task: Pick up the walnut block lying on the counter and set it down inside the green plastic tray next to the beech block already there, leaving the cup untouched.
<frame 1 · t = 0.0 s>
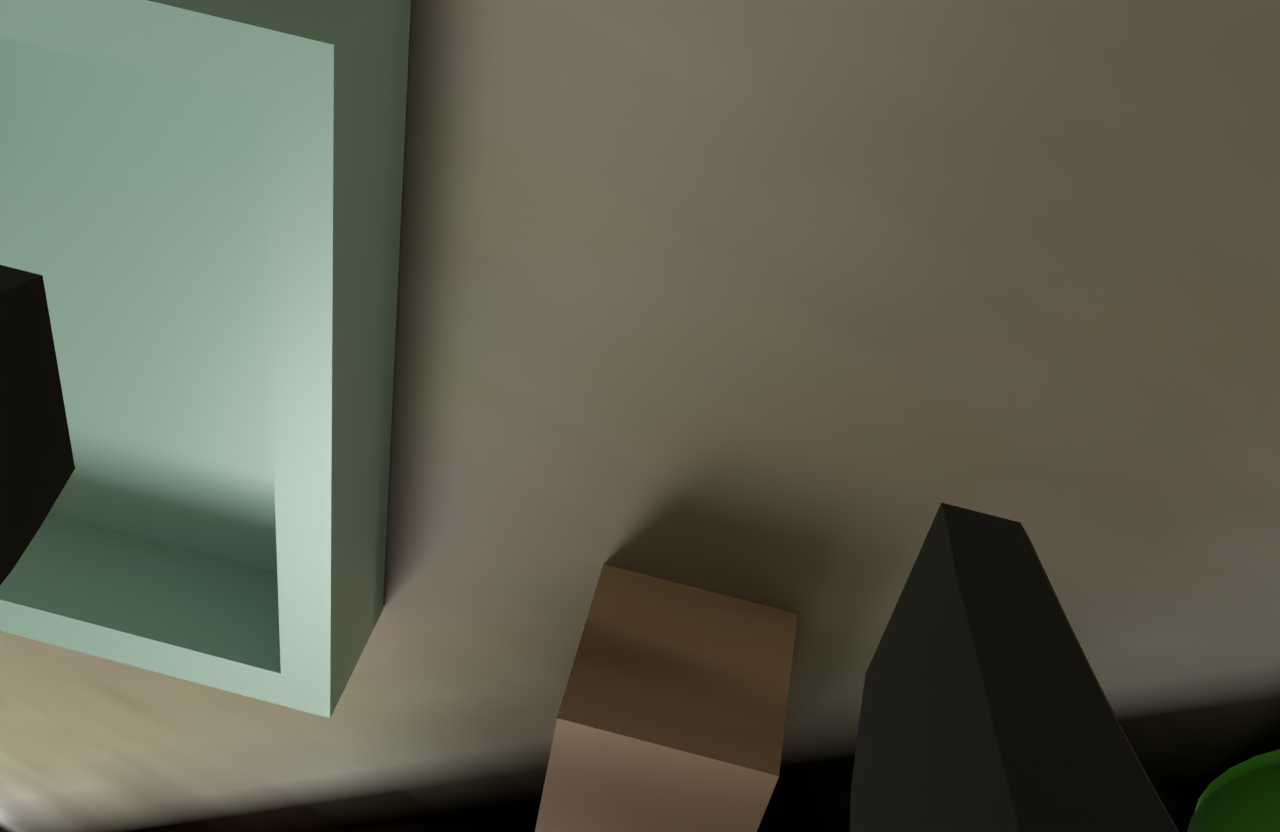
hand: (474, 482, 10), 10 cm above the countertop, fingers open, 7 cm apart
walnut block: (682, 650, 26), on the countertop
tray: (30, 261, 23), on the countertop
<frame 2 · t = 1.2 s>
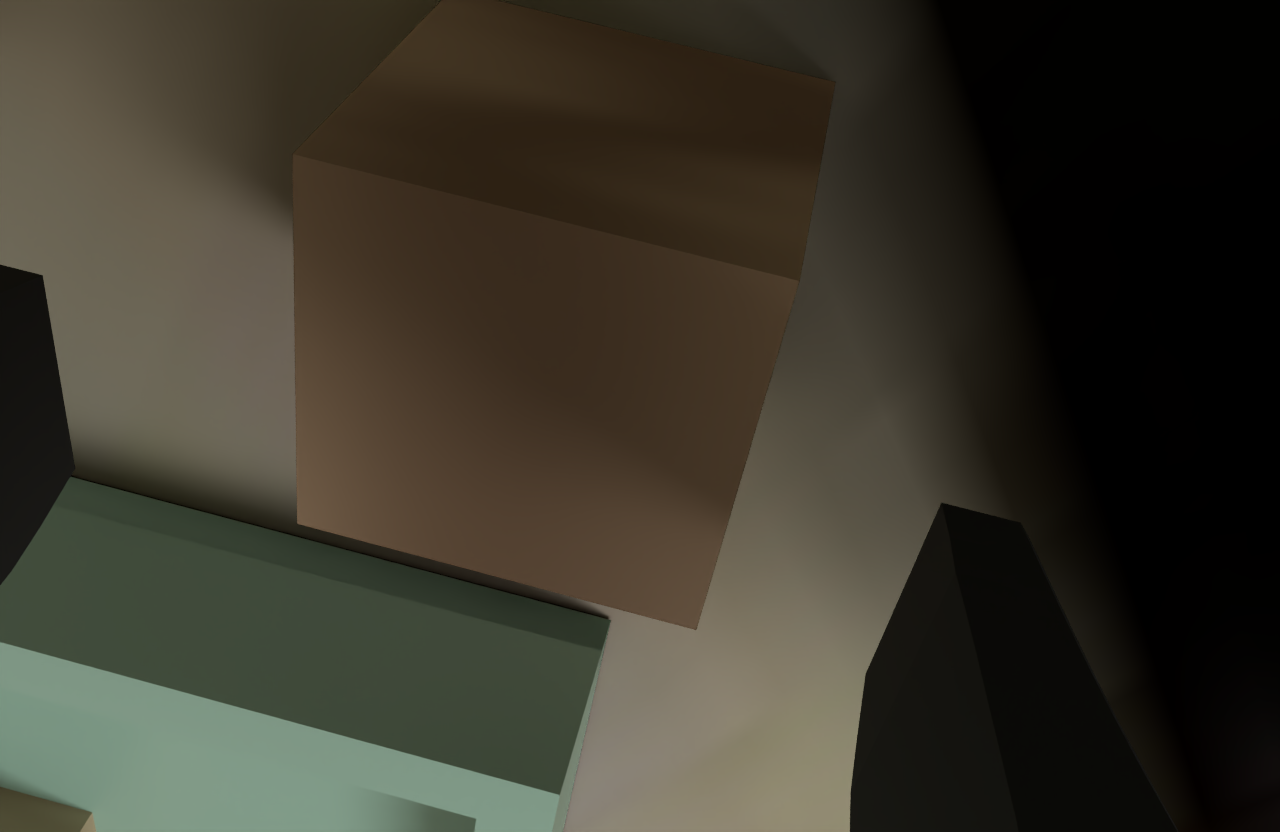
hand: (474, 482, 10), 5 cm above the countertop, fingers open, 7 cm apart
walnut block: (613, 204, 14), on the countertop
tray: (181, 775, 22), on the countertop
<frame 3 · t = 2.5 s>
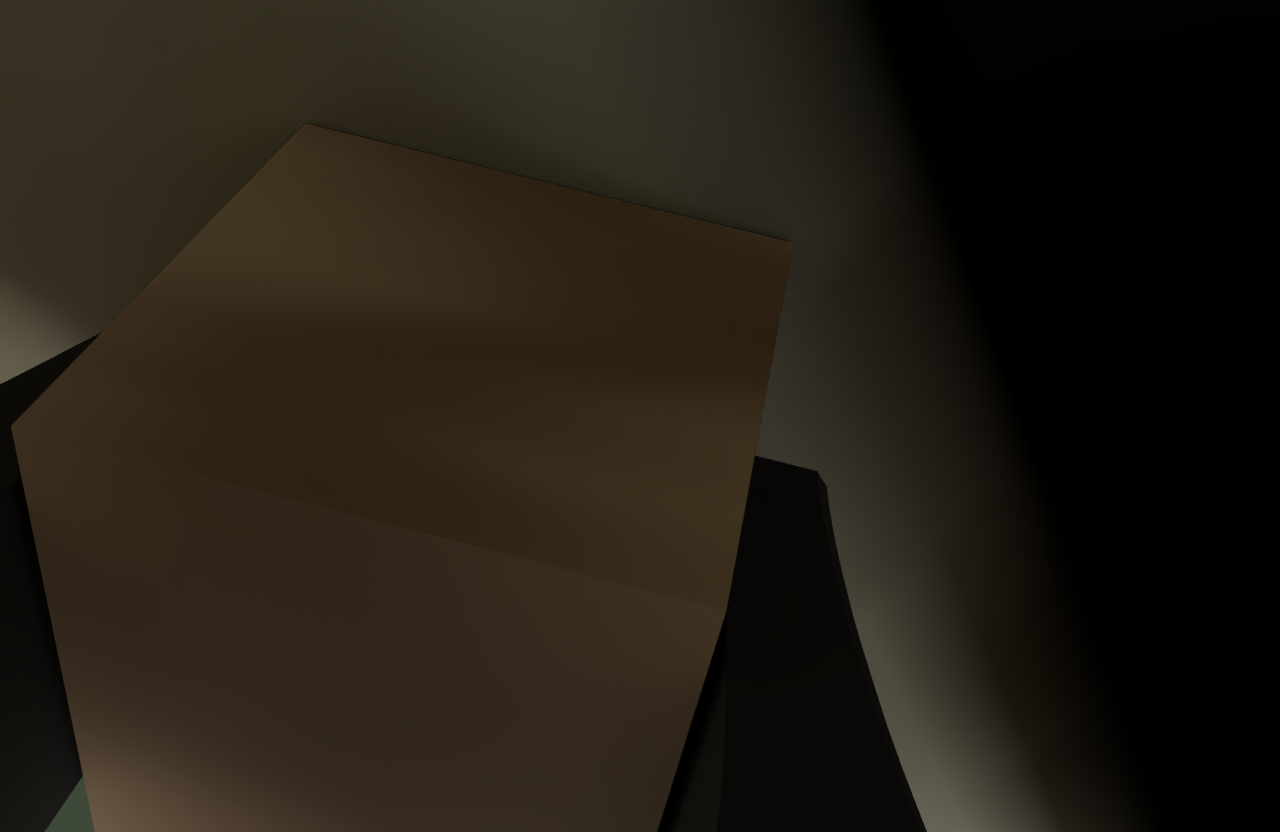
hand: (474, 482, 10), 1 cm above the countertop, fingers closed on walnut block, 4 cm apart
walnut block: (520, 380, 11), on the countertop, touching gripper
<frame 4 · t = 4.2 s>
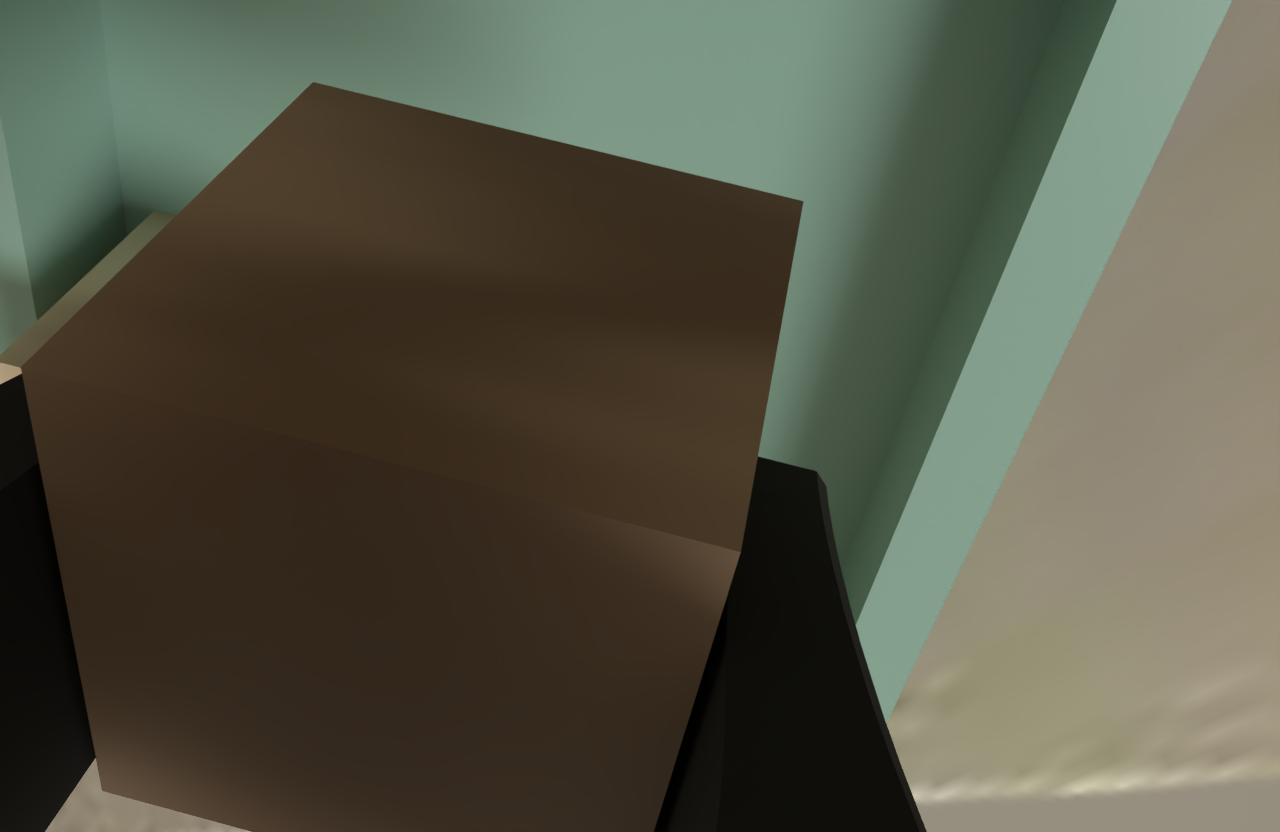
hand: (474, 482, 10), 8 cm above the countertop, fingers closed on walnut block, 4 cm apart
walnut block: (528, 344, 11), point 7 cm above the countertop, touching gripper
tray: (527, 220, 18), on the countertop
beech block in tray: (285, 349, 19), point 1 cm above the countertop, touching tray
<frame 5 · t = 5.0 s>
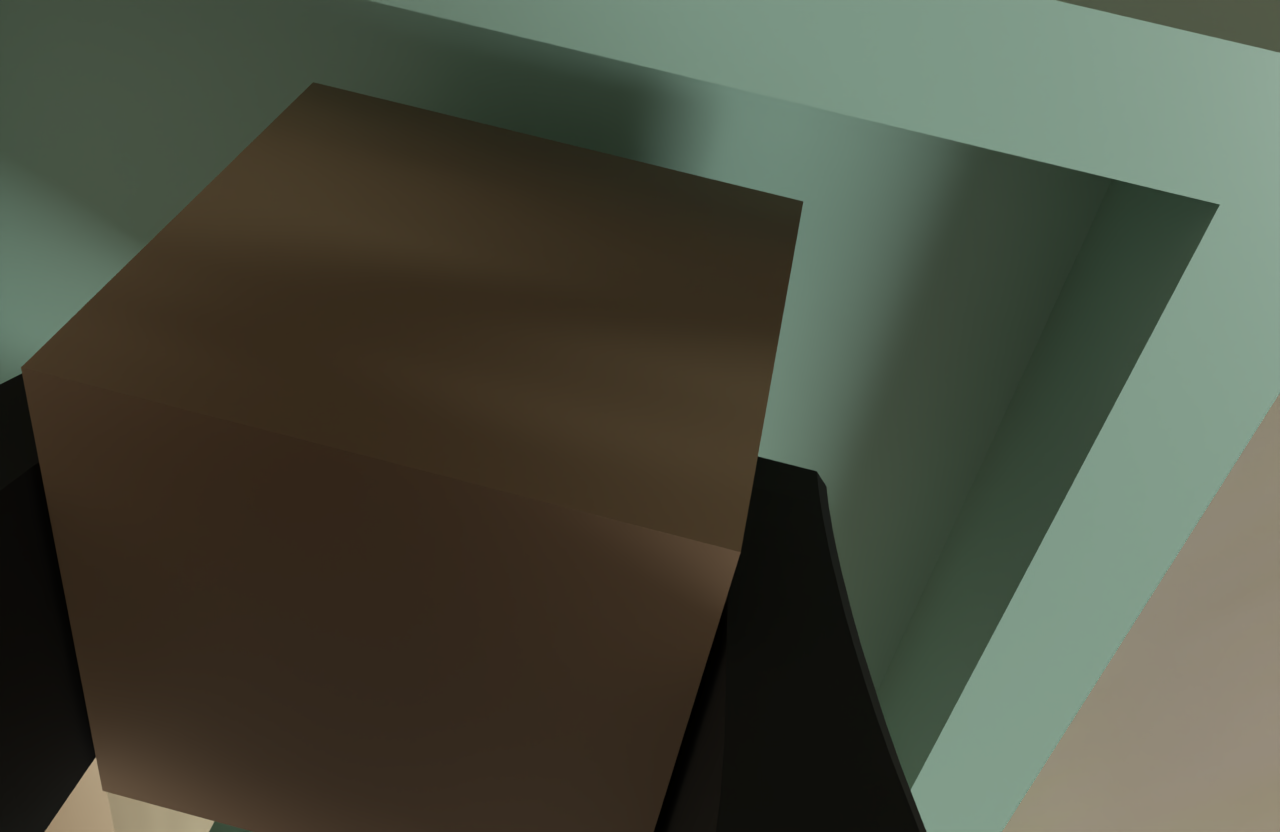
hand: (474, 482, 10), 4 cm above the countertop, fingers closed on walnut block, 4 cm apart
walnut block: (528, 344, 11), point 2 cm above the countertop, touching gripper
tray: (423, 412, 14), on the countertop
beech block in tray: (134, 551, 16), point 1 cm above the countertop, touching tray
when the fingers open (3 cm above the countertop, at t = 5.8 s): walnut block drops 1 cm, resting on tray.
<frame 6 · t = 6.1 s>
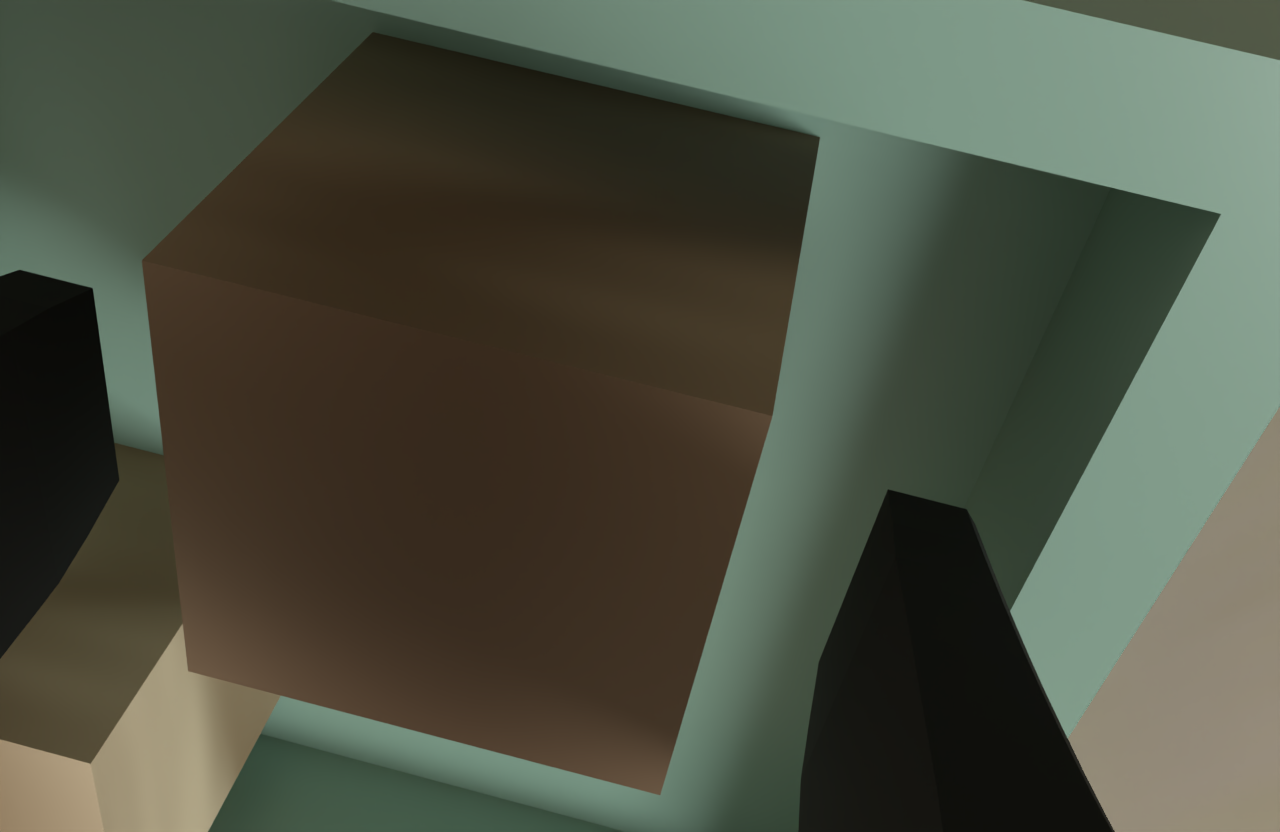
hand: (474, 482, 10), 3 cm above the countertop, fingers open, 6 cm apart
walnut block: (566, 277, 12), point 1 cm above the countertop, touching tray
tray: (418, 419, 14), on the countertop
beech block in tray: (128, 559, 16), point 1 cm above the countertop, touching tray
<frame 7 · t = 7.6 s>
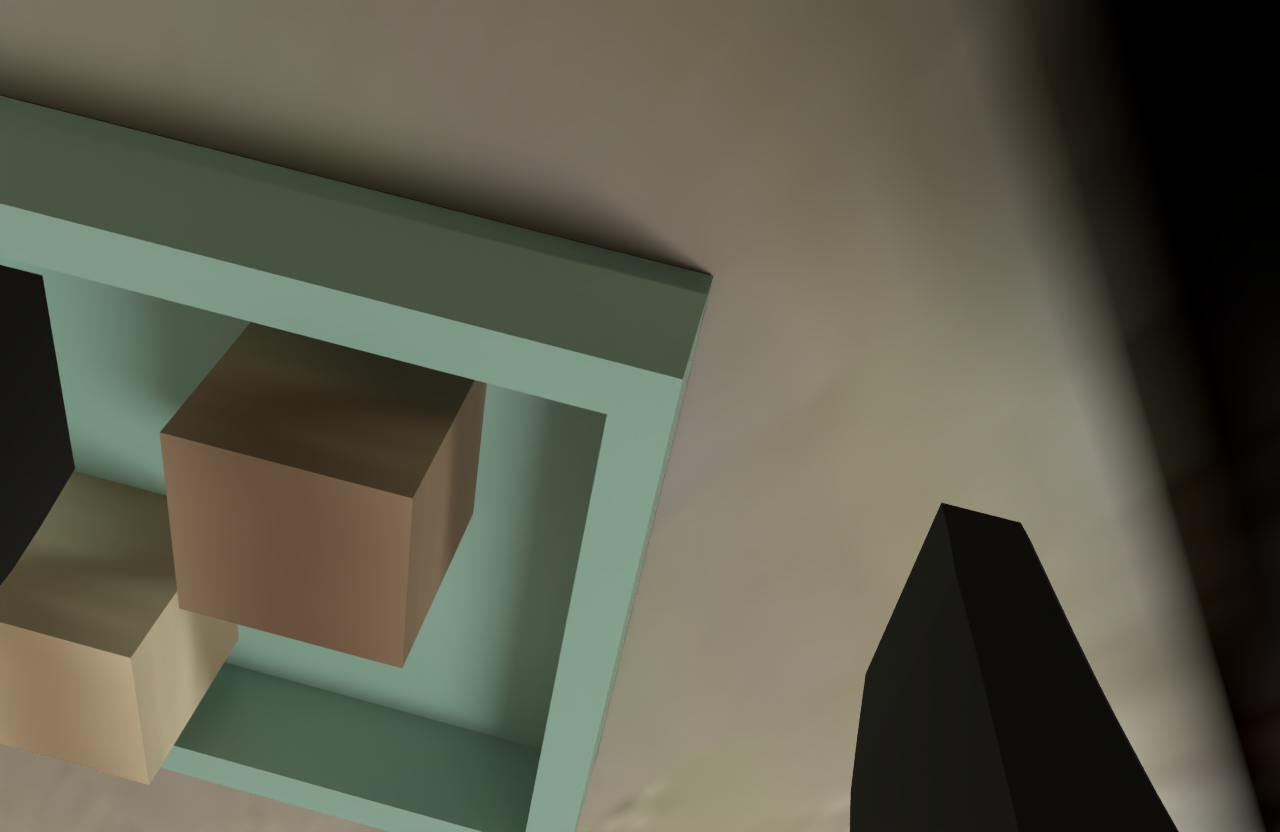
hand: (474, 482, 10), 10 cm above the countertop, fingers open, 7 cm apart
walnut block: (378, 410, 23), point 1 cm above the countertop, touching tray
tray: (312, 477, 25), on the countertop
beech block in tray: (147, 555, 27), point 1 cm above the countertop, touching tray
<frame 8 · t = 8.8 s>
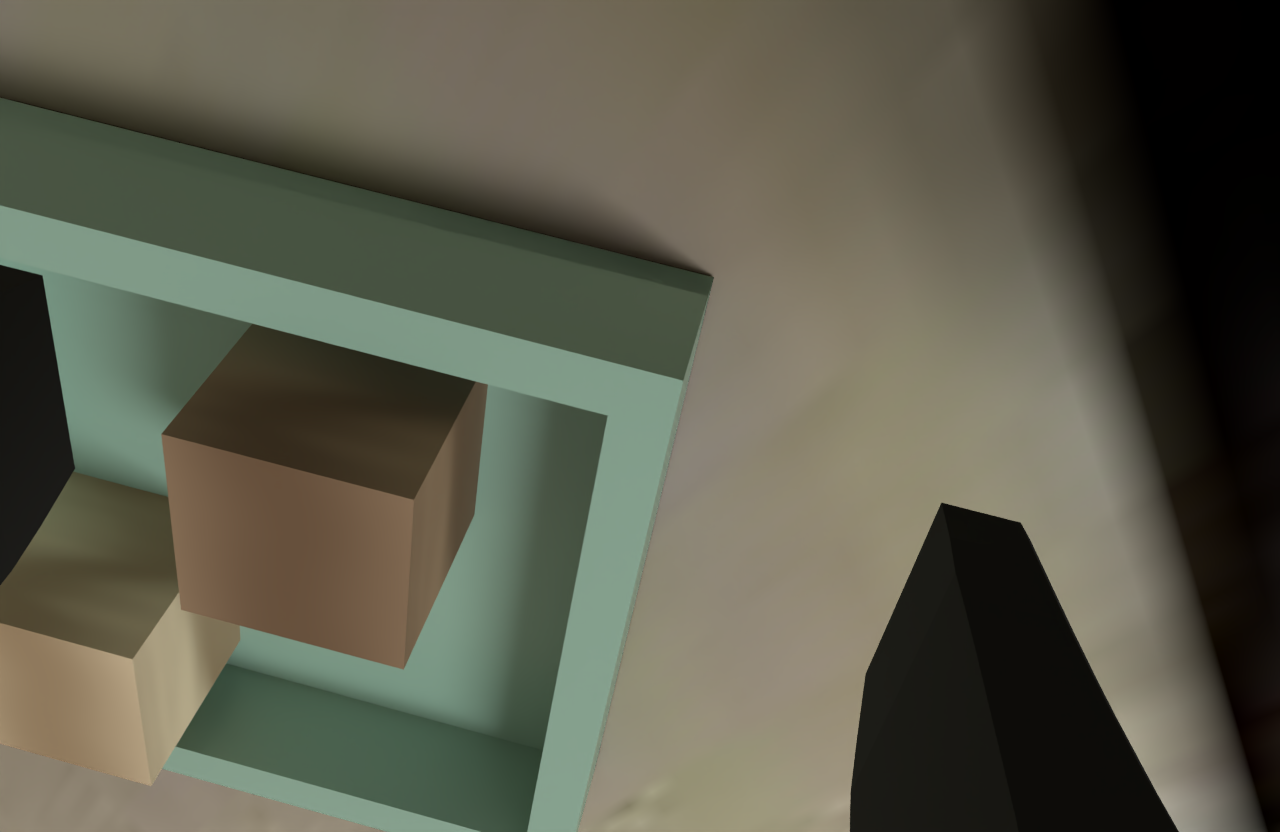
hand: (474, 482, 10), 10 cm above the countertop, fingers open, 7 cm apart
walnut block: (379, 411, 23), point 1 cm above the countertop, touching tray
tray: (313, 478, 25), on the countertop
beech block in tray: (149, 556, 27), point 1 cm above the countertop, touching tray
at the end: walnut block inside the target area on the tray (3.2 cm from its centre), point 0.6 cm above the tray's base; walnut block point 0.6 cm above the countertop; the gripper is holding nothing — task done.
